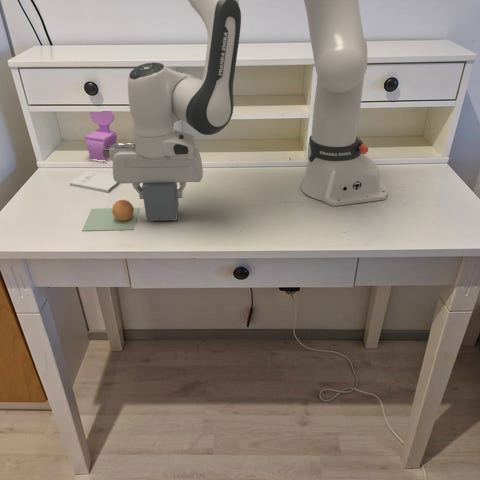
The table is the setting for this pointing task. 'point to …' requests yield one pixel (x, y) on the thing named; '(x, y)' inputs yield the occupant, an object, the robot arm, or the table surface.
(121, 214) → the ball
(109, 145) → the toy chair
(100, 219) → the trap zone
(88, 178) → the external hard drive
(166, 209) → the dark grey cube
